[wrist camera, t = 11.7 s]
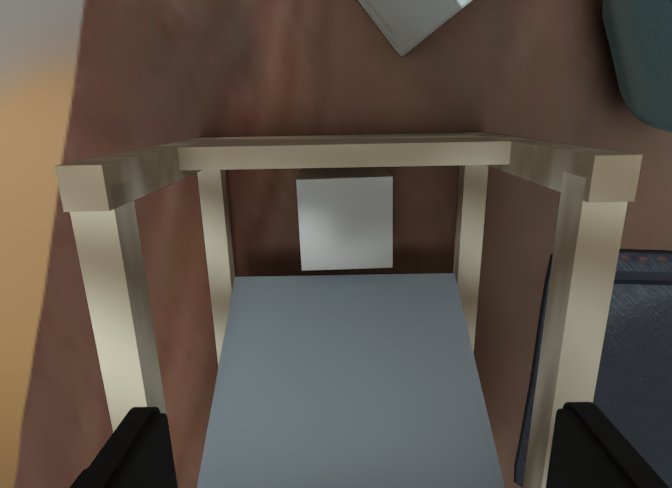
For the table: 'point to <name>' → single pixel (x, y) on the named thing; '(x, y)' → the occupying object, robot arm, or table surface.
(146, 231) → the table surface
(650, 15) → the flower pot
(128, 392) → the frame
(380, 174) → the cube
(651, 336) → the wallet
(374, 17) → the supplement box
